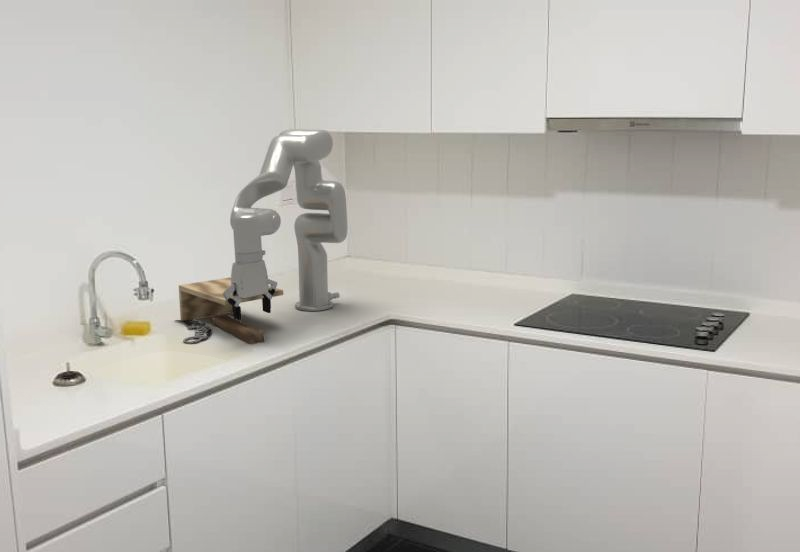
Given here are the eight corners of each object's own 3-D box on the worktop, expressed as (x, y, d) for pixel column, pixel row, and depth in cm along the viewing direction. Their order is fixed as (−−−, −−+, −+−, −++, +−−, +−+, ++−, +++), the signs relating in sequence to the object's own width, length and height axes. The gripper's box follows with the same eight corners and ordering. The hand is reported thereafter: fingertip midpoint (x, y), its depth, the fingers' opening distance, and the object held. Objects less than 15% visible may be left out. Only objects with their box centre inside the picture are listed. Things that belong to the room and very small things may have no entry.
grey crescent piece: (173, 318, 259) (206, 314, 262) (174, 323, 260) (206, 319, 262) (179, 343, 233) (215, 338, 236) (180, 348, 233) (216, 343, 236)
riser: (236, 310, 273) (234, 276, 270) (284, 327, 252) (283, 290, 250) (180, 321, 260) (178, 285, 257) (226, 339, 239) (224, 300, 237)
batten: (226, 314, 256) (212, 316, 254) (264, 332, 236) (249, 335, 233) (226, 324, 257) (212, 326, 254) (264, 343, 236) (249, 346, 234)
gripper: (267, 250, 240) (270, 307, 244) (214, 260, 229) (218, 319, 233) (282, 254, 235) (285, 312, 239) (228, 264, 224) (232, 324, 228)
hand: (252, 315), depth 236 cm, fingers open, 9 cm apart
